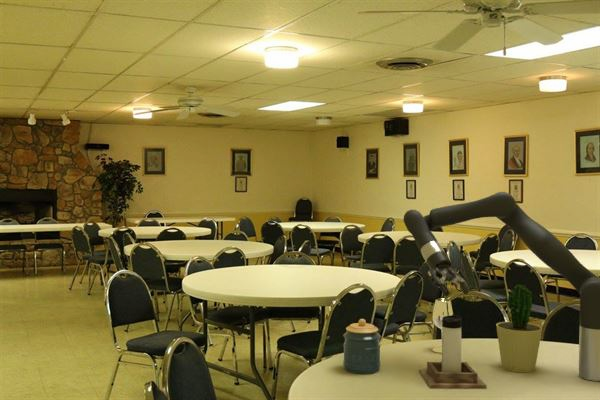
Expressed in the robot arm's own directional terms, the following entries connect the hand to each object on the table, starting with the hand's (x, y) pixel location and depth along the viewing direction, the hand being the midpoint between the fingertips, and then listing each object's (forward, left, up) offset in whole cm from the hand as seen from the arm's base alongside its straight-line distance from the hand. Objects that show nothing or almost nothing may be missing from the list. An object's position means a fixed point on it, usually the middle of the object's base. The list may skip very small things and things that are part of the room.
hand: (457, 294), depth 214 cm
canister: (+27, +18, -28) cm, 43 cm away
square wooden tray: (-1, +5, -28) cm, 28 cm away
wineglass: (+22, -24, -28) cm, 43 cm away
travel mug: (-1, +5, -27) cm, 27 cm away
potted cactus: (-9, -25, -28) cm, 38 cm away
